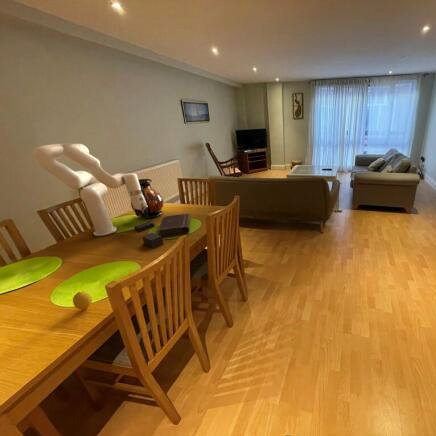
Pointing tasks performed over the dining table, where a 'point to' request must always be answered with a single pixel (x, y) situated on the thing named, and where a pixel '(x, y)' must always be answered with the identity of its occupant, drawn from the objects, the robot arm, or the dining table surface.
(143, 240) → the pad base
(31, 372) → the dining table surface
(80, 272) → the dining table surface
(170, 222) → the diary
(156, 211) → the amphora vase
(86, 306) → the brown egg shape
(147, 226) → the pad top
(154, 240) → the pad mid
